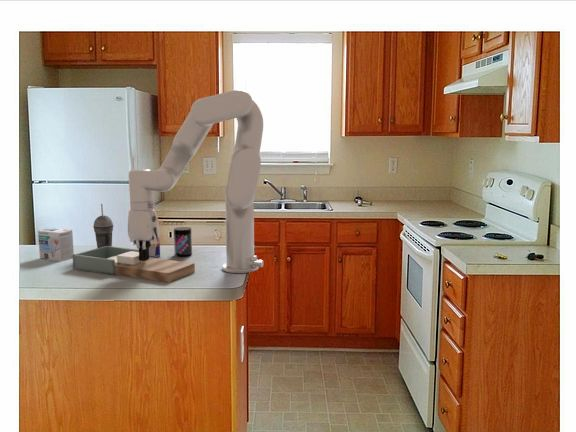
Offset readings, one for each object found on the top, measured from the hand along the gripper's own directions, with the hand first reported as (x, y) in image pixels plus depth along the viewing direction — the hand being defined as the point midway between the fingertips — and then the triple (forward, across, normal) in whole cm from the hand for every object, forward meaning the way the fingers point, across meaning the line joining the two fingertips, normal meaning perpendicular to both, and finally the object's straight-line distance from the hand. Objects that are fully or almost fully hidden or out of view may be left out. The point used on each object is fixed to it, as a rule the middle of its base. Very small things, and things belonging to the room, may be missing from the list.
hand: (144, 259), depth 178 cm
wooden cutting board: (+4, -4, 0) cm, 6 cm away
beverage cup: (+4, +28, -11) cm, 31 cm away
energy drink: (+4, +10, -17) cm, 20 cm away
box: (+4, +16, 0) cm, 16 cm away
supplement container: (+4, +2, -25) cm, 25 cm away
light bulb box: (+4, +42, -1) cm, 43 cm away
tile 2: (+1, +5, 0) cm, 5 cm away
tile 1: (+4, +12, 0) cm, 13 cm away
